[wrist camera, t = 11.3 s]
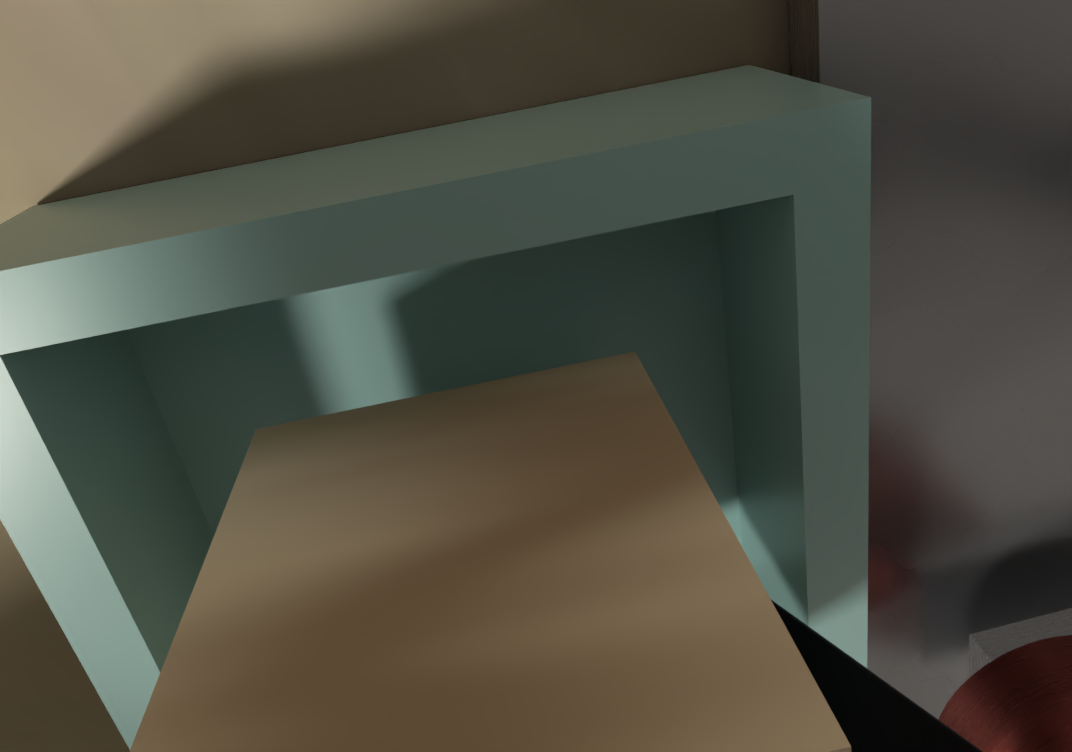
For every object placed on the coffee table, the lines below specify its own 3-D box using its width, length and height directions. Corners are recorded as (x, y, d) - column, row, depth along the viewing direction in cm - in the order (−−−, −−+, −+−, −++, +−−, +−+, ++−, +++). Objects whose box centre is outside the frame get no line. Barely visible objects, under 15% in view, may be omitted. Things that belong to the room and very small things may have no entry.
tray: (749, 64, 10) (870, 98, 7) (778, 610, 13) (866, 768, 11) (32, 206, 10) (-124, 296, 7) (263, 721, 13) (220, 913, 11)
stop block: (634, 352, 9) (850, 745, 4) (672, 637, 10) (853, 1131, 6) (256, 429, 9) (64, 918, 4) (357, 703, 10) (301, 1257, 6)
